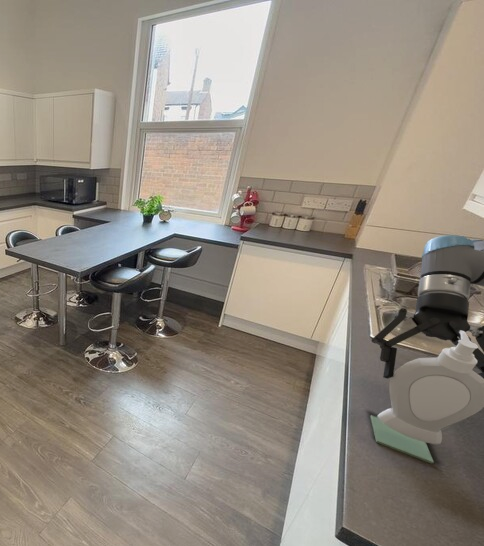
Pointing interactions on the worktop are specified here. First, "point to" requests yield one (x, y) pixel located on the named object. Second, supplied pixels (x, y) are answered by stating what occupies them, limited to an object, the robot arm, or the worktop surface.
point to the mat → (400, 441)
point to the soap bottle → (435, 393)
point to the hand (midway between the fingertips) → (432, 390)
